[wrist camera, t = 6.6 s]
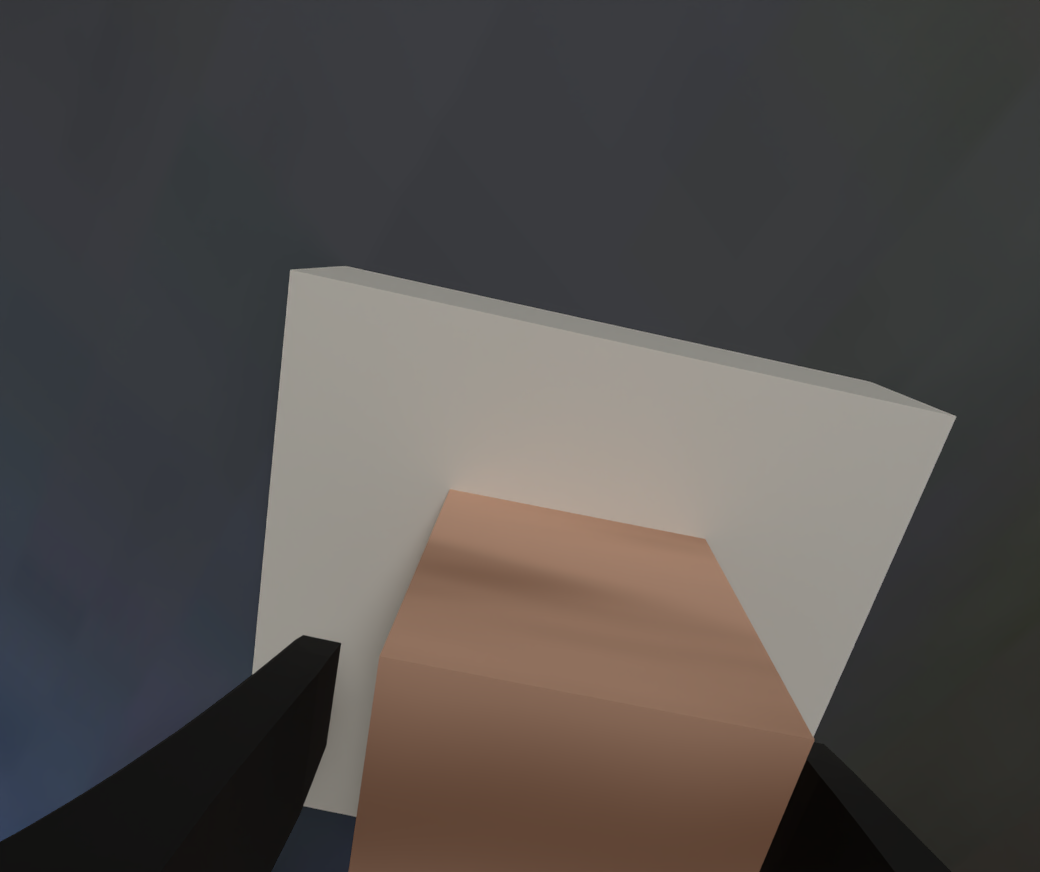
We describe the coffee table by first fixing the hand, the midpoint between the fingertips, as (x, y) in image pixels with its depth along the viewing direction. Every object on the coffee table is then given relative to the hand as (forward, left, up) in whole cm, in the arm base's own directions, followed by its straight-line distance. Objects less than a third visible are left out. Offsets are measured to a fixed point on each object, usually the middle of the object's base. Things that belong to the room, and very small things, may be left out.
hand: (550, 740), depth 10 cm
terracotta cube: (0, 0, -3) cm, 3 cm away
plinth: (0, 0, -6) cm, 6 cm away
